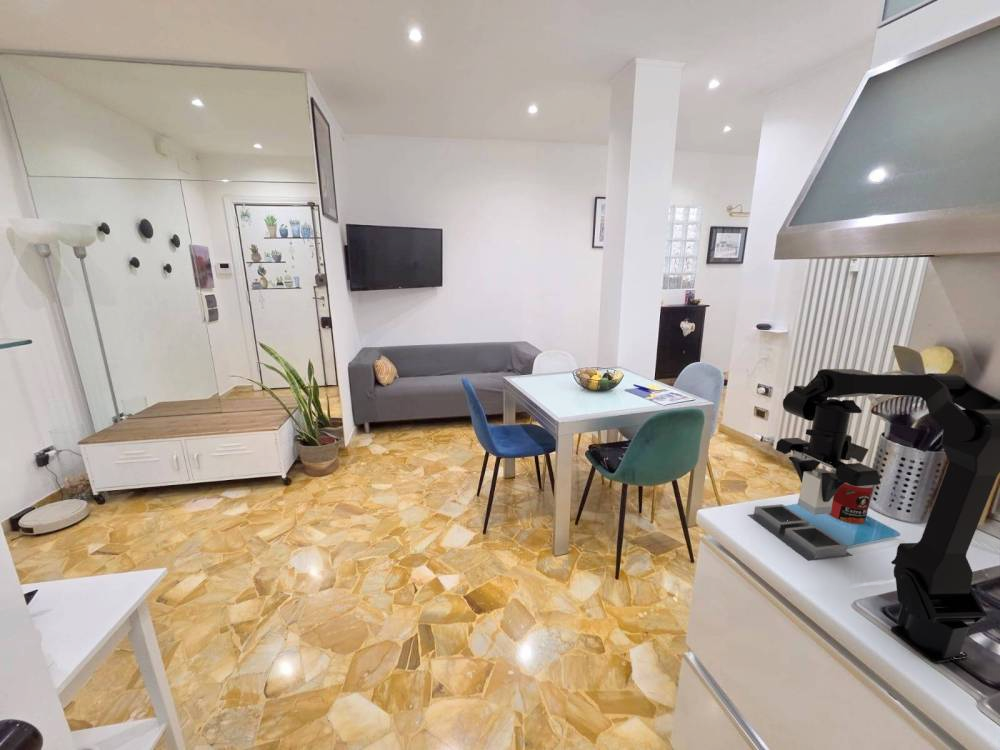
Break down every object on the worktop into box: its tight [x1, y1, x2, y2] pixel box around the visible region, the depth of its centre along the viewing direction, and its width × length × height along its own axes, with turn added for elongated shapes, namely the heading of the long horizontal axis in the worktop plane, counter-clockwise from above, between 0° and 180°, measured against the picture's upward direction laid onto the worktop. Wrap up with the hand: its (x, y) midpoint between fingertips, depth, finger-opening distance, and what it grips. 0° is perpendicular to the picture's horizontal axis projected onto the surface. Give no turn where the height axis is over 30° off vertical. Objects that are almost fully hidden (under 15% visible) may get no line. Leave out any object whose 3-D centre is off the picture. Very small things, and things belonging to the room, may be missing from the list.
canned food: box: [828, 483, 875, 525], centre depth 100 cm, size 8×8×11 cm
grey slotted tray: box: [747, 503, 853, 562], centre depth 93 cm, size 17×11×3 cm, turn 9°
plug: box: [797, 468, 834, 516], centre depth 88 cm, size 4×4×9 cm
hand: (816, 496), depth 88 cm, fingers closed on plug, 4 cm apart
